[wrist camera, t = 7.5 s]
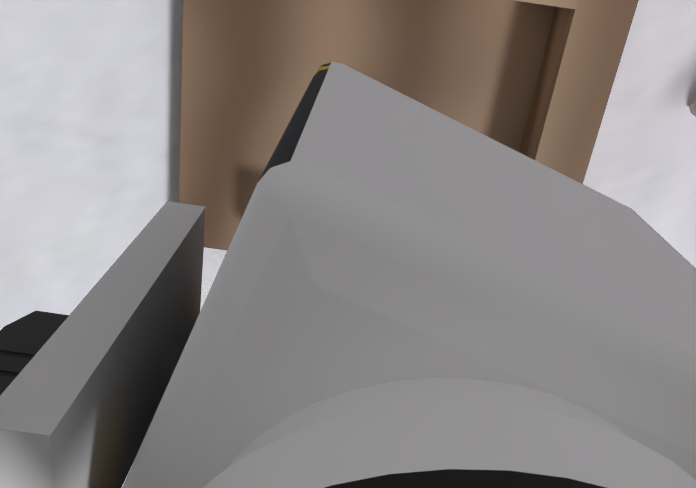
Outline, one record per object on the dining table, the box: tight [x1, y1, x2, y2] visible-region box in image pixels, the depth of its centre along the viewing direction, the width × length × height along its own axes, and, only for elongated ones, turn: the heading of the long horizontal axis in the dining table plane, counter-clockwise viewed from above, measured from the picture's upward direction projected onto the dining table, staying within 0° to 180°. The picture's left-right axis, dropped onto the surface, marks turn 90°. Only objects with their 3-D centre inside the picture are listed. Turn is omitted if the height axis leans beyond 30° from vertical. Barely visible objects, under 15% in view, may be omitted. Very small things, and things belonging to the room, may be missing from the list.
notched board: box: [179, 0, 638, 250], centre depth 25 cm, size 16×14×4 cm
